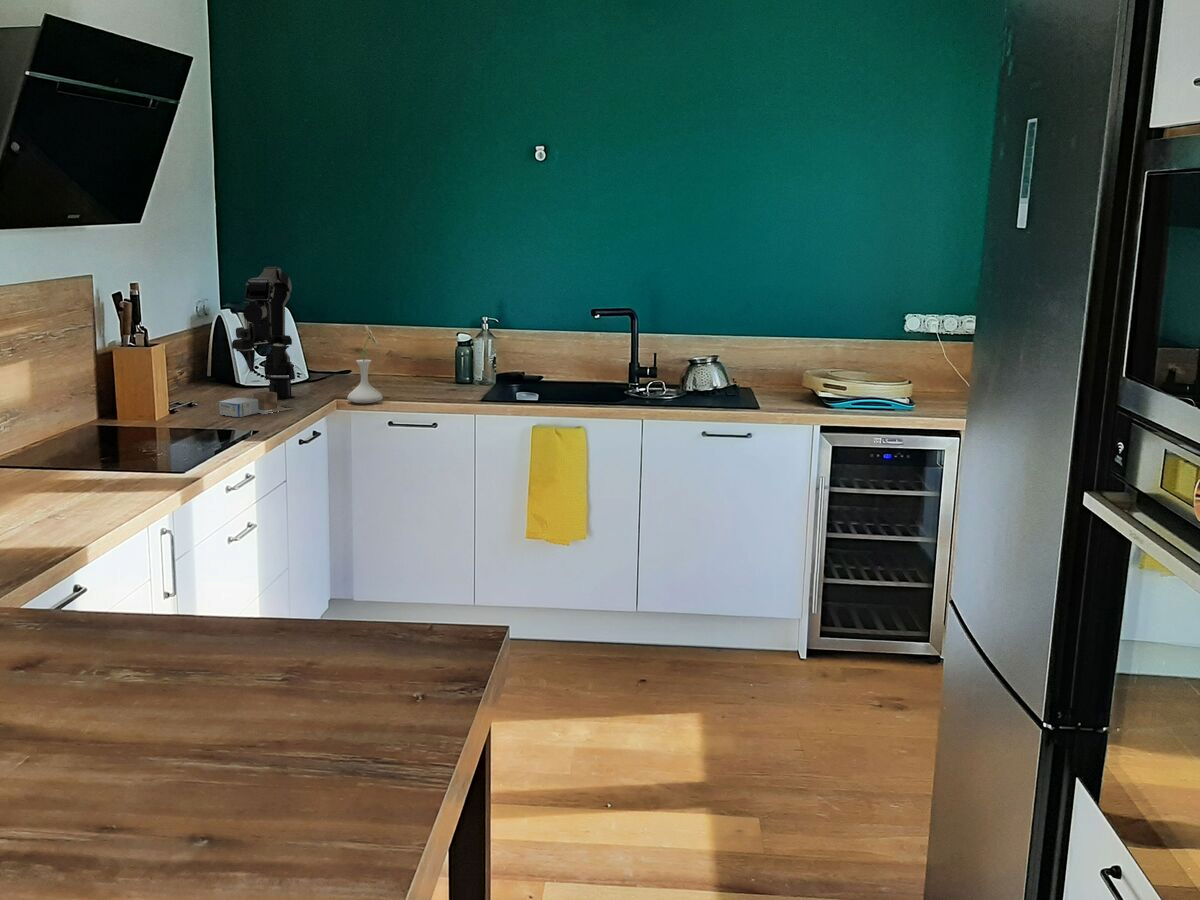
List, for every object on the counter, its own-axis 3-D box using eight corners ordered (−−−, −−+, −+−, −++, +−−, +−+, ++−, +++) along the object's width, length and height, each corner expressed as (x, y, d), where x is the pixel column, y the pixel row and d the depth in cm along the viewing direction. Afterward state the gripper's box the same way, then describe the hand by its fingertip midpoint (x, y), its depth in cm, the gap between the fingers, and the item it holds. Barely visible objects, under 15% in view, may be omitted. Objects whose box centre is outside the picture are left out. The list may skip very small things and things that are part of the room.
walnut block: (267, 406, 370) (266, 391, 369) (277, 408, 367) (276, 392, 366) (254, 408, 366) (253, 393, 365) (264, 410, 363) (263, 394, 362)
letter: (267, 404, 375) (267, 403, 375) (295, 409, 367) (295, 408, 367) (235, 409, 366) (235, 408, 366) (264, 414, 357) (264, 414, 357)
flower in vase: (374, 406, 374) (372, 328, 368) (341, 404, 376) (338, 327, 371) (390, 399, 386) (387, 324, 381) (357, 398, 388) (355, 323, 383)
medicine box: (240, 410, 363) (219, 415, 356) (239, 396, 362) (218, 401, 354) (259, 412, 359) (238, 418, 352) (258, 398, 358) (237, 403, 351)
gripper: (269, 315, 372) (271, 364, 376) (219, 320, 358) (222, 370, 361) (292, 318, 366) (294, 367, 369) (242, 322, 351) (245, 374, 354)
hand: (263, 369), depth 364 cm, fingers open, 9 cm apart
